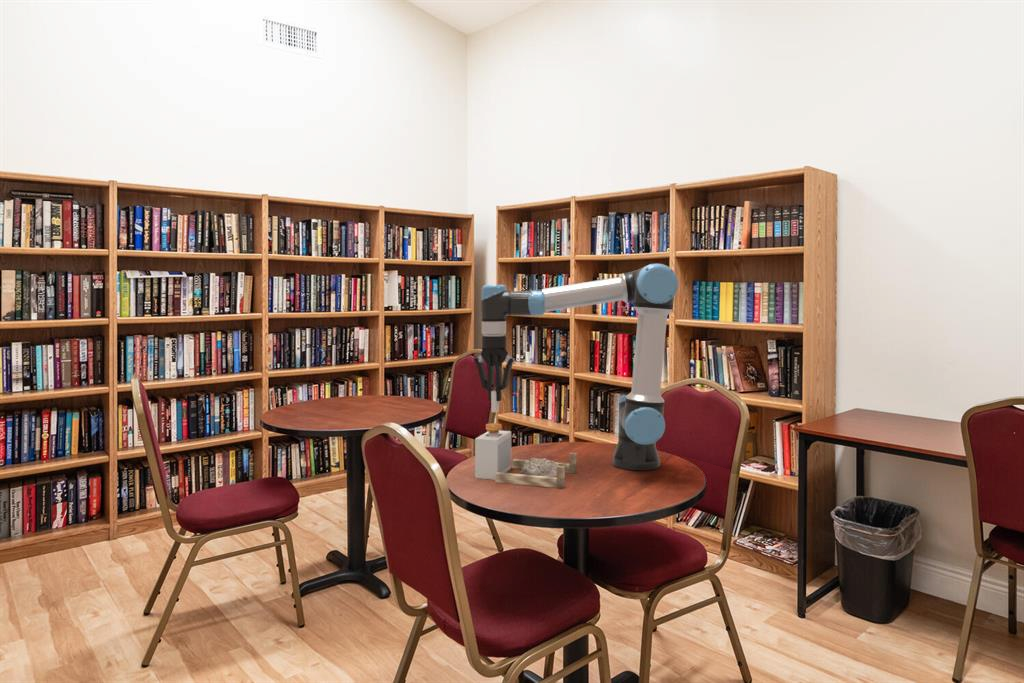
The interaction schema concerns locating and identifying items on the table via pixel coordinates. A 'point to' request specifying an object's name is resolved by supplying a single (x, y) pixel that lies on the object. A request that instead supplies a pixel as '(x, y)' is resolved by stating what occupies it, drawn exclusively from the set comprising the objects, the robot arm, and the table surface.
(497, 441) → the white button box
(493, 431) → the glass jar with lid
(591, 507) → the table surface
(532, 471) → the rock
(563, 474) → the track
